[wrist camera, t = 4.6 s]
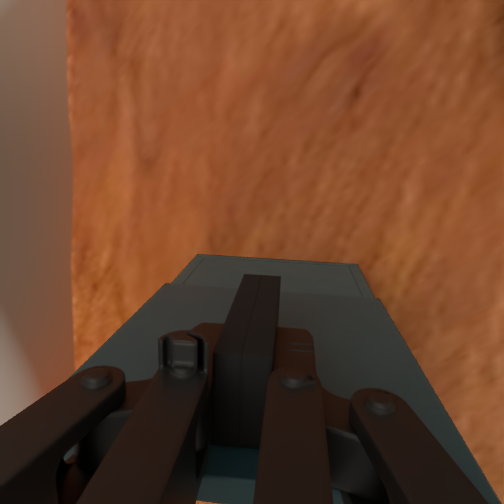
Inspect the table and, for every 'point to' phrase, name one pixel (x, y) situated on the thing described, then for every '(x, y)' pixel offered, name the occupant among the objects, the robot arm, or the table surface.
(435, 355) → the table surface
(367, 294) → the chest
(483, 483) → the lid
